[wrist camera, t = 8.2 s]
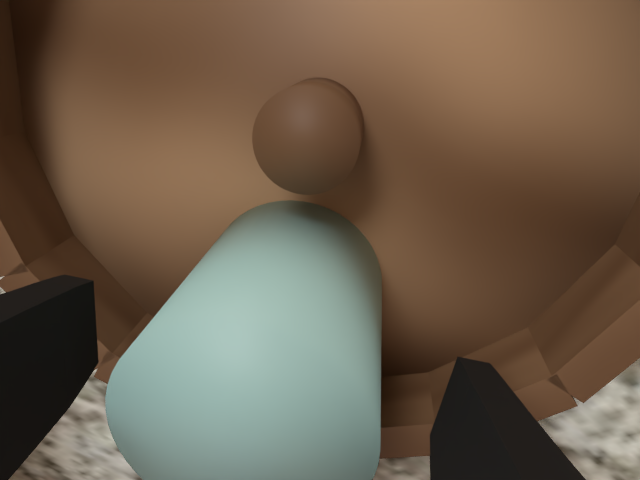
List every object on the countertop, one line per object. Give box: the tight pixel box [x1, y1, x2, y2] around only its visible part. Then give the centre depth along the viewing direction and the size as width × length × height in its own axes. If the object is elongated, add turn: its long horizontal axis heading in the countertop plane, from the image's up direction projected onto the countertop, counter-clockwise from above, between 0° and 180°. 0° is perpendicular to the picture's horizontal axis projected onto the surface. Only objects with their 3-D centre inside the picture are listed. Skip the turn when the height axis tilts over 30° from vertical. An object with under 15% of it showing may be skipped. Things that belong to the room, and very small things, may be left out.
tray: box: [0, 0, 640, 459], centre depth 9 cm, size 16×16×2 cm
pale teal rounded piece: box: [106, 200, 382, 480], centre depth 9 cm, size 4×4×5 cm
